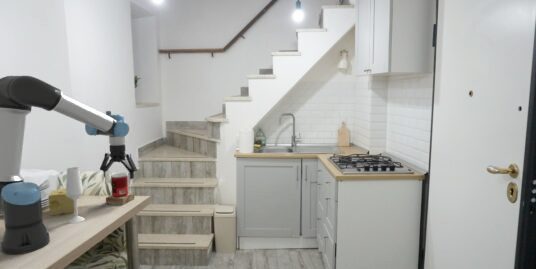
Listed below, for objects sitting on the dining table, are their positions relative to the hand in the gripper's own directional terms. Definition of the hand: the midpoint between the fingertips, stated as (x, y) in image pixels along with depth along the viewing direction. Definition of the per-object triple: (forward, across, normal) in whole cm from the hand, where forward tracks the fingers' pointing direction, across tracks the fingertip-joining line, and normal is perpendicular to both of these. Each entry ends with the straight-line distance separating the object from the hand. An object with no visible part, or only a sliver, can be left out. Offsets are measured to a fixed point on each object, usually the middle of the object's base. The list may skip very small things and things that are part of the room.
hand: (119, 184), depth 181 cm
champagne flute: (+10, +3, +28) cm, 29 cm away
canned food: (+6, 0, 0) cm, 6 cm away
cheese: (+10, +18, +18) cm, 28 cm away
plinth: (+9, 0, 0) cm, 9 cm away
